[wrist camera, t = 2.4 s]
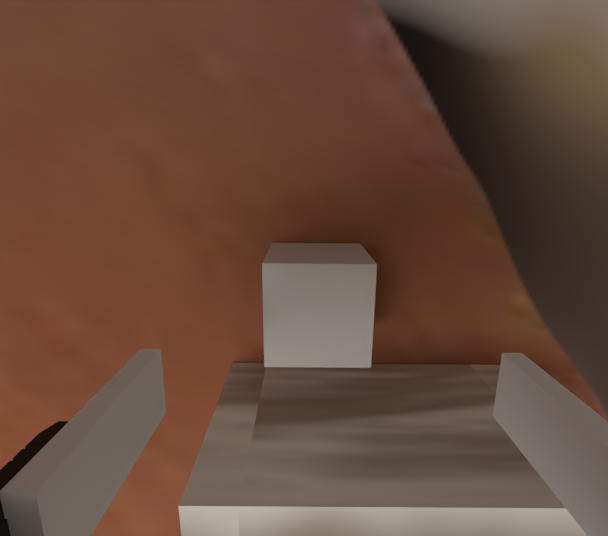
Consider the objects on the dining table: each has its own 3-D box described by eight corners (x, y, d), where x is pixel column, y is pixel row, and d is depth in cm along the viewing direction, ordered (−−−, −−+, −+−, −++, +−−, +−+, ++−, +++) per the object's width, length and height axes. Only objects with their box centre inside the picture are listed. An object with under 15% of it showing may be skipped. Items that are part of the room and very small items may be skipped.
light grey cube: (271, 242, 25) (261, 263, 19) (359, 243, 25) (377, 264, 19) (273, 324, 26) (264, 367, 20) (356, 325, 26) (371, 367, 20)
